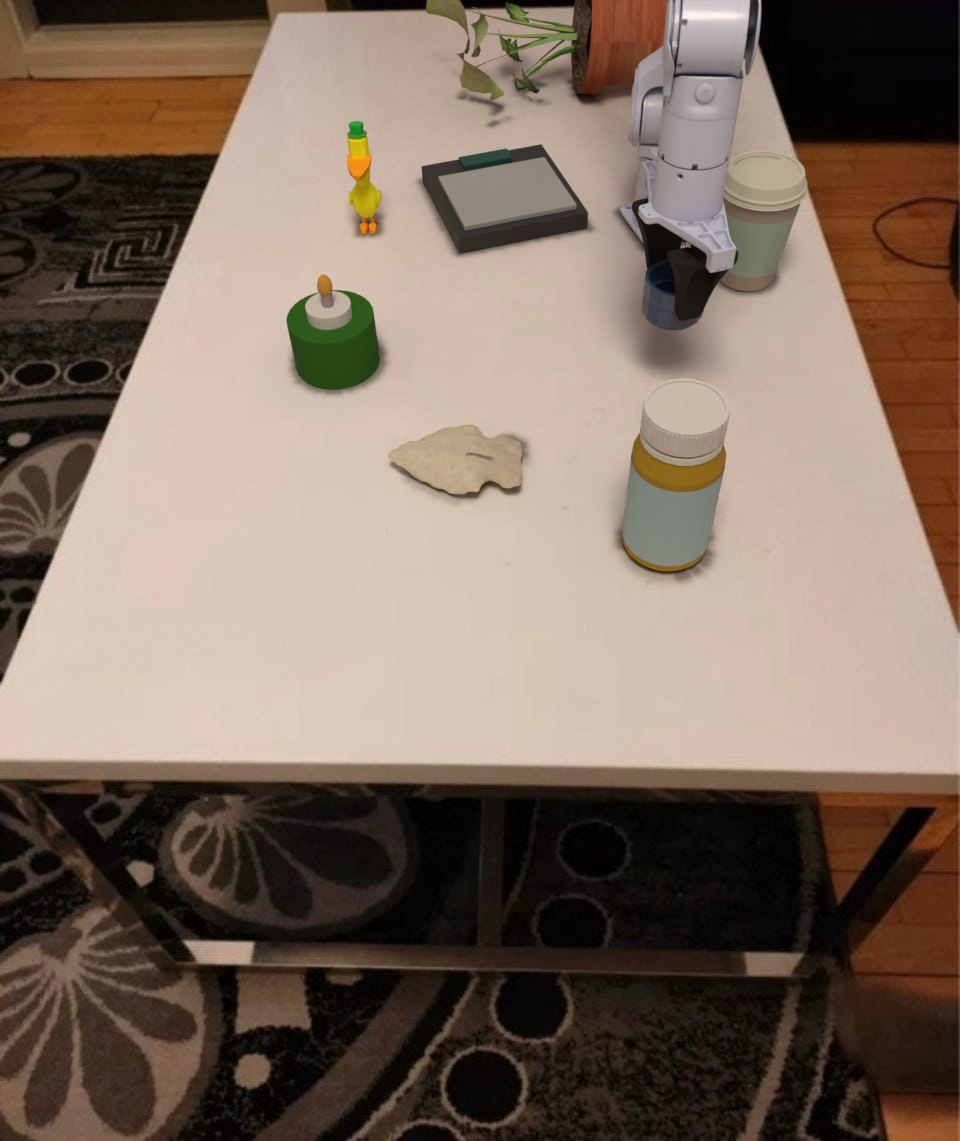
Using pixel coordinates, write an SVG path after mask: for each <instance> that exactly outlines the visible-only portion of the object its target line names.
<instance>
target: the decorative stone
mask: <svg viewBox="0 0 960 1141" xmlns="http://www.w3.org/2000/svg"><path fill="white" fill-rule="evenodd" d="M522 456H523V448H522V444H521V441H518V440H516V439H513V438H511V437H508V436H506V435H503V434H499V435H497V436H495V437H488V436H485V435H484V433H483V431H481V430H480V428H479V427H478V426H476V425H474V424H463V425H459V426H448V427H447V426H446V427H443V428H441V429H438V430H437V431H434V432H433V433H430V434H426V435H425V436H422V438H420V439H419V440H416V441H414V440H413V441H410V440H409V441H407V442H406V443H403V444H401V445H399V447H397V448H395V449H393V450H391V451H389V452H388V453H387V458H388V459H389V460H391V461H393V462H394V464H396V465H397V466H398V467H402V468H403V469H405V471H406V472H407V473H409V474H410V475H411V476H412V477H413V478H414V479H416V480H418V481H420V482H422V483H424V482H425V483H428V484H429V485H430V486H431V487H433V488H435V489H439V490H444V491H446V492H447V493H448V494H451V495H452V494H453V495H466V494H467V493H479V492H480V490H481V487H482V485H483V484H485V483H486V482H494V483H496V484H498V485H499V486H500V487H501V488H504V489H512V488H517V487H520V486H522V480H523V477H522V476H523V475H522V469H523V468H522V467H523V466H522Z"/></svg>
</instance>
